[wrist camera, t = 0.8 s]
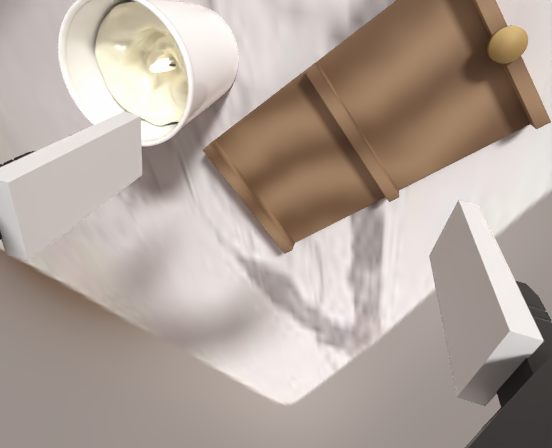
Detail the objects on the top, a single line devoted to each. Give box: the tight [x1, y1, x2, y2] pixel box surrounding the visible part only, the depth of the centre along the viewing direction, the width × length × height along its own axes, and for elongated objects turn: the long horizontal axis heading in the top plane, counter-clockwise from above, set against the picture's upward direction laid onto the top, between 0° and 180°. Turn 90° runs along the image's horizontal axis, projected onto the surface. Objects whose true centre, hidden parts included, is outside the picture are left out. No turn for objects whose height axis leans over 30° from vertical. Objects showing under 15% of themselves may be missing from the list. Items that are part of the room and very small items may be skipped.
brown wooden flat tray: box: [203, 0, 551, 253], centre depth 33 cm, size 14×27×3 cm, turn 127°
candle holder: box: [58, 0, 239, 147], centre depth 30 cm, size 10×10×12 cm
